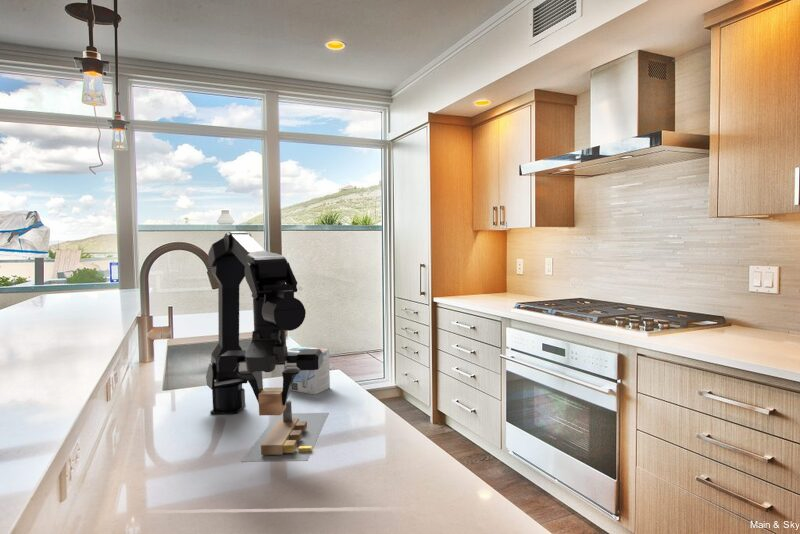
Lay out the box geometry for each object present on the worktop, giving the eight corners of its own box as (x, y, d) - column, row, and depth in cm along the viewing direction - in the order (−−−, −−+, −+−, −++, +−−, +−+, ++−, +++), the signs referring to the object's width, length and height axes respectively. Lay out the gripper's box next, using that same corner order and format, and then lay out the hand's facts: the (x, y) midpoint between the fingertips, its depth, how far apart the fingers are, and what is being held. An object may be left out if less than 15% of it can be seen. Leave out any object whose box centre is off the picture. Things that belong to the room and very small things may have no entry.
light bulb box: (284, 390, 137) (282, 350, 136) (300, 383, 143) (298, 345, 142) (316, 394, 132) (314, 354, 131) (331, 387, 138) (329, 348, 137)
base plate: (241, 463, 92) (241, 461, 92) (277, 415, 117) (277, 413, 117) (307, 462, 92) (307, 460, 92) (328, 414, 117) (328, 412, 117)
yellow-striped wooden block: (259, 415, 93) (258, 393, 93) (265, 408, 97) (264, 387, 97) (280, 415, 93) (279, 393, 93) (286, 407, 97) (285, 387, 97)
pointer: (298, 452, 95) (298, 448, 95) (299, 450, 96) (299, 446, 96) (311, 452, 95) (310, 448, 95) (312, 450, 96) (311, 445, 96)
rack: (261, 454, 94) (260, 424, 93) (280, 426, 108) (279, 399, 107) (293, 454, 94) (292, 423, 93) (308, 426, 108) (307, 399, 107)
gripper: (202, 332, 86) (206, 421, 87) (311, 330, 86) (314, 419, 87) (226, 321, 98) (229, 400, 98) (322, 319, 97) (324, 399, 98)
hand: (272, 405), depth 95 cm, fingers closed on yellow-striped wooden block, 4 cm apart
